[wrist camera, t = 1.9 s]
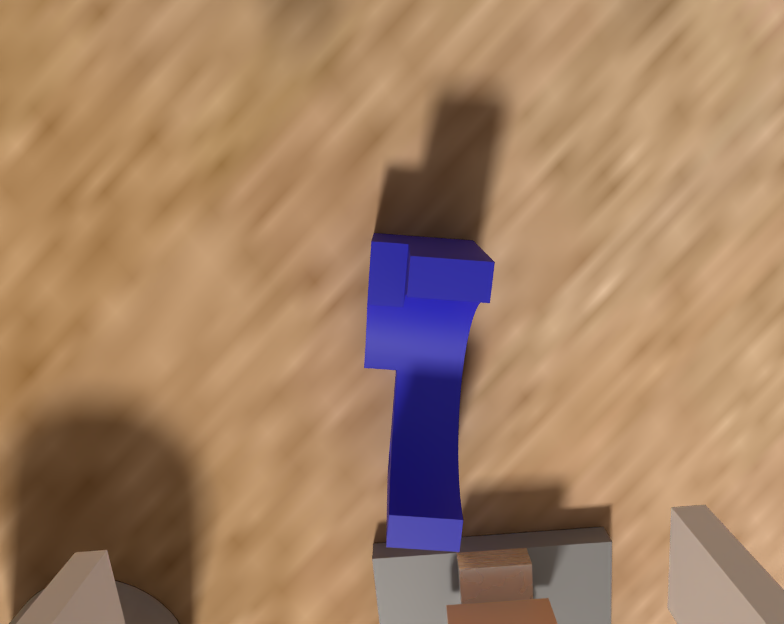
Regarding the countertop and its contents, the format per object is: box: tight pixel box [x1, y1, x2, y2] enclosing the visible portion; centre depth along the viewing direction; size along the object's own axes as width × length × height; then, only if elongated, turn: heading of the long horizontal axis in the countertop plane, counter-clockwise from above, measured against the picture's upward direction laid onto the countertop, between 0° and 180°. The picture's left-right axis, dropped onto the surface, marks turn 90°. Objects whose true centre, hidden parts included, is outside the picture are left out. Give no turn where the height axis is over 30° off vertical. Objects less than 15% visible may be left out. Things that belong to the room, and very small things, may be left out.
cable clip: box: [364, 233, 495, 552], centre depth 25 cm, size 12×4×6 cm, turn 176°
